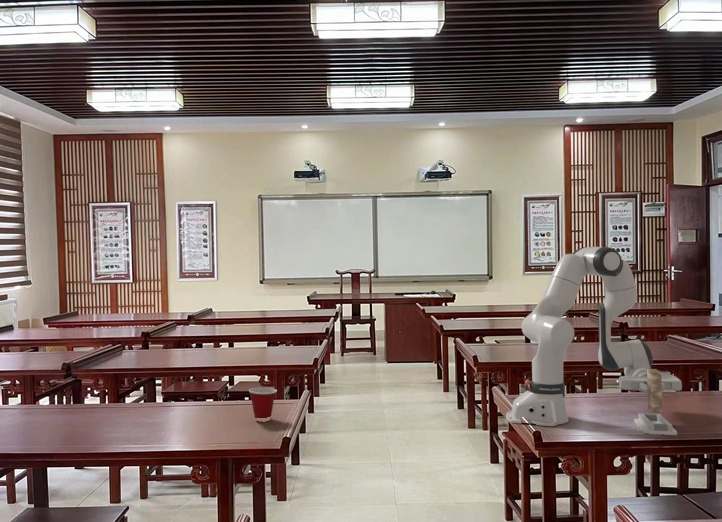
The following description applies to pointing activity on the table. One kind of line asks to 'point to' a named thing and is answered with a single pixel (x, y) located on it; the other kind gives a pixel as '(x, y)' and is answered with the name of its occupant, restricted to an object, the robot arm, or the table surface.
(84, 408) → the table surface
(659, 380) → the tan wooden block
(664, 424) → the floor track
